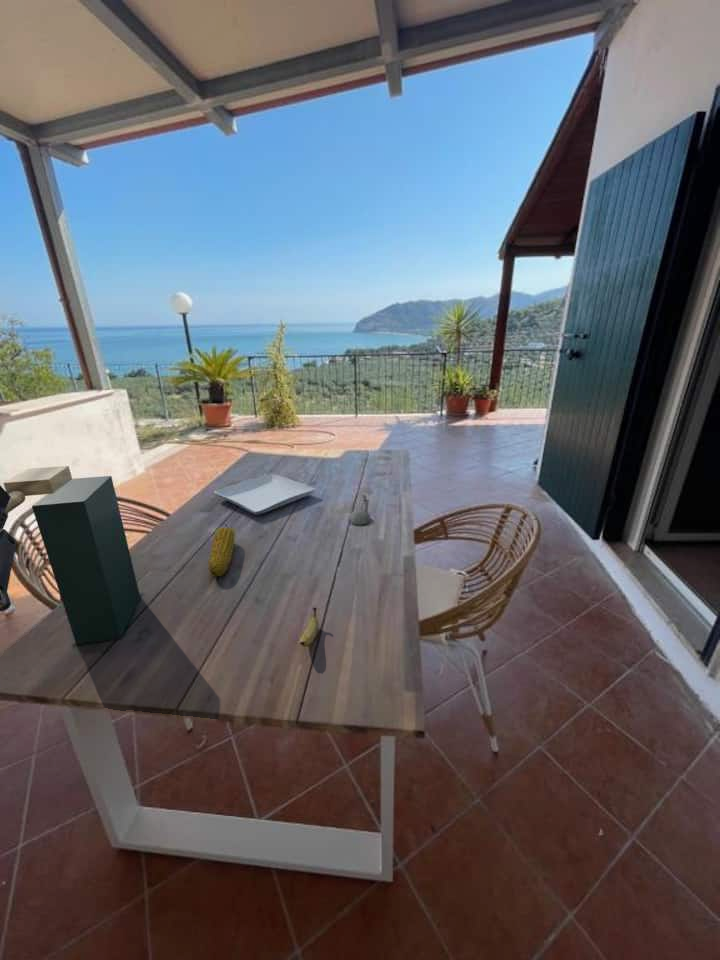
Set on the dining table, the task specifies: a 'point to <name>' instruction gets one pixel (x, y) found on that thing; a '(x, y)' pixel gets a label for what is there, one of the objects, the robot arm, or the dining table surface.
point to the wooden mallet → (35, 483)
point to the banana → (310, 631)
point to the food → (221, 551)
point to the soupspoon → (360, 515)
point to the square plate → (264, 493)
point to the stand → (89, 557)
